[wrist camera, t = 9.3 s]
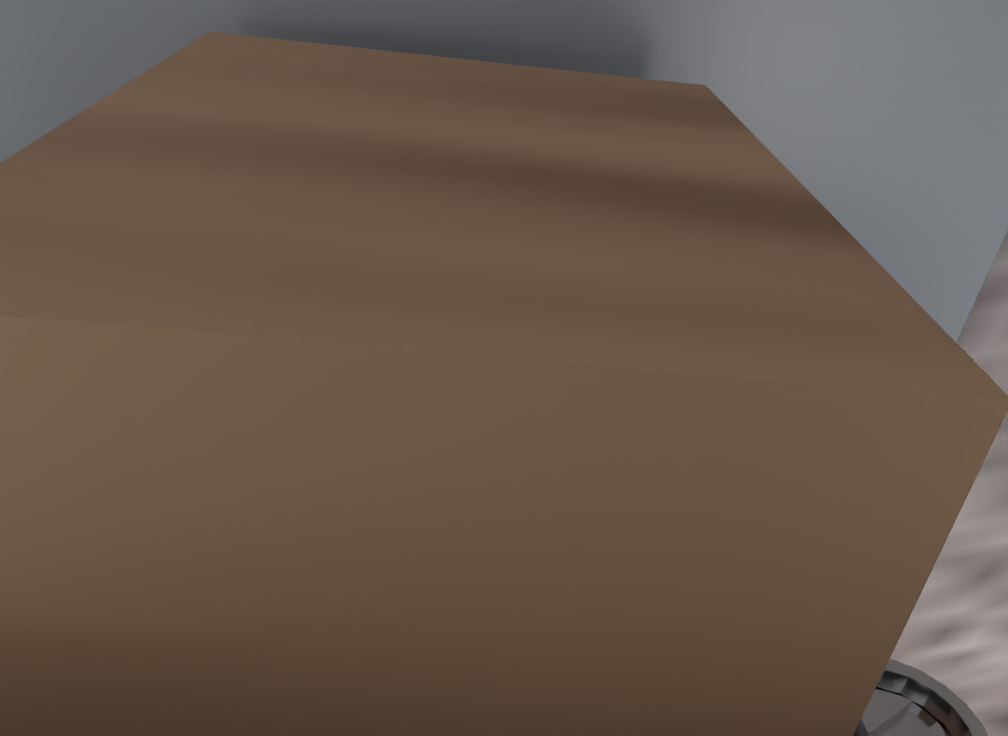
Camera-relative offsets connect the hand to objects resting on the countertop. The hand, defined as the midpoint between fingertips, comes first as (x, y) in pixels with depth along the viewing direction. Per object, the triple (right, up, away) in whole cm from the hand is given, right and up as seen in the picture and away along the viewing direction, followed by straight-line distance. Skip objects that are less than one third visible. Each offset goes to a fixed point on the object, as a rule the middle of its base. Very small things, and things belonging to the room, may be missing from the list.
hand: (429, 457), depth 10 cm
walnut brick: (0, 0, +1) cm, 1 cm away
